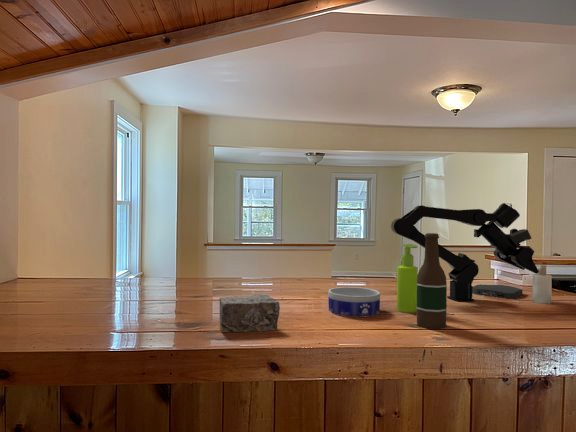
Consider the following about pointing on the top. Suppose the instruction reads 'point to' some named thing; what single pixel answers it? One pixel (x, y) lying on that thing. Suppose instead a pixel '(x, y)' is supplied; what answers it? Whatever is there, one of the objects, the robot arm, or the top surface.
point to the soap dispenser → (407, 282)
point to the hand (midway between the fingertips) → (530, 270)
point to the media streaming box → (498, 291)
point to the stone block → (248, 313)
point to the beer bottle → (431, 288)
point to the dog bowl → (354, 301)
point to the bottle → (542, 286)
